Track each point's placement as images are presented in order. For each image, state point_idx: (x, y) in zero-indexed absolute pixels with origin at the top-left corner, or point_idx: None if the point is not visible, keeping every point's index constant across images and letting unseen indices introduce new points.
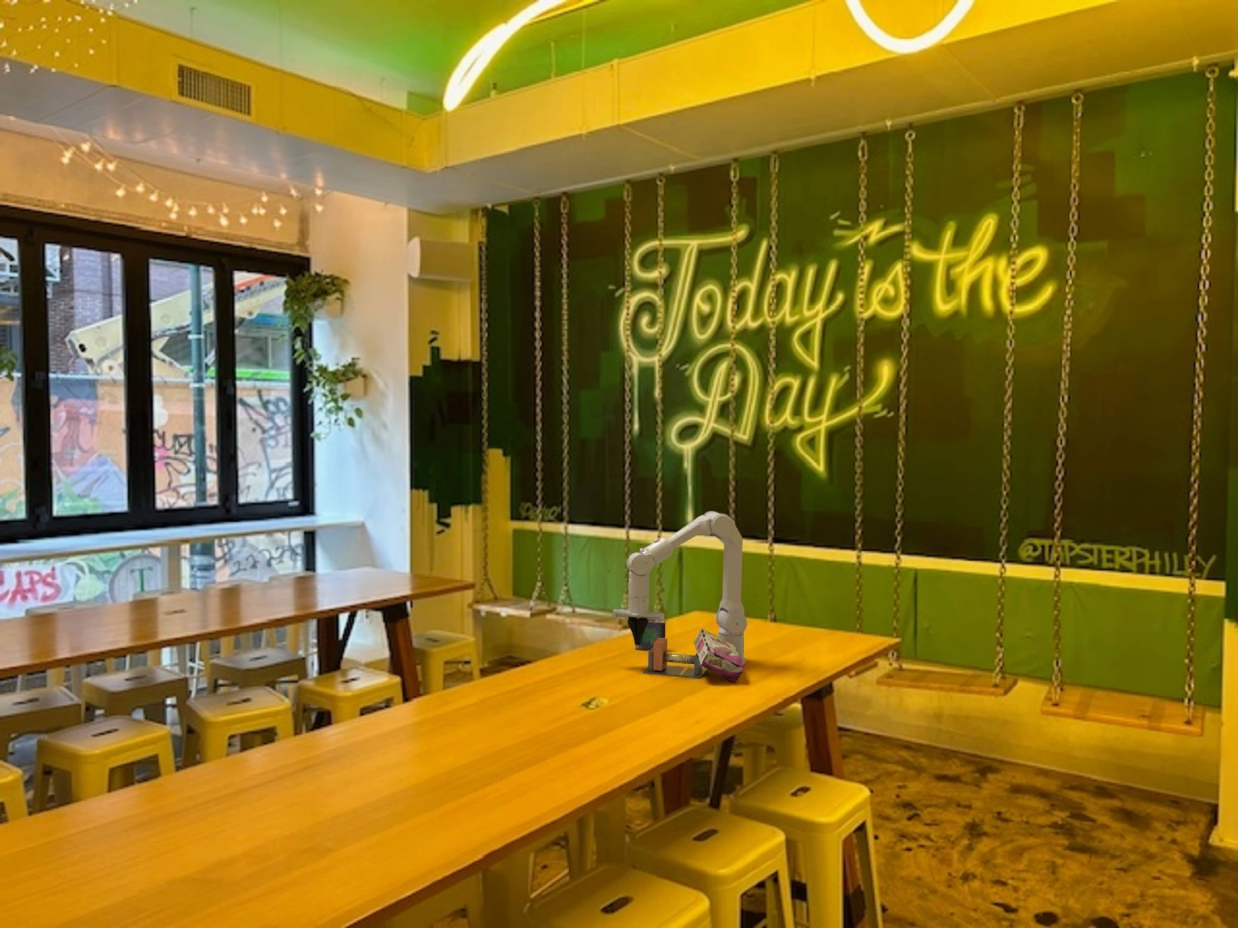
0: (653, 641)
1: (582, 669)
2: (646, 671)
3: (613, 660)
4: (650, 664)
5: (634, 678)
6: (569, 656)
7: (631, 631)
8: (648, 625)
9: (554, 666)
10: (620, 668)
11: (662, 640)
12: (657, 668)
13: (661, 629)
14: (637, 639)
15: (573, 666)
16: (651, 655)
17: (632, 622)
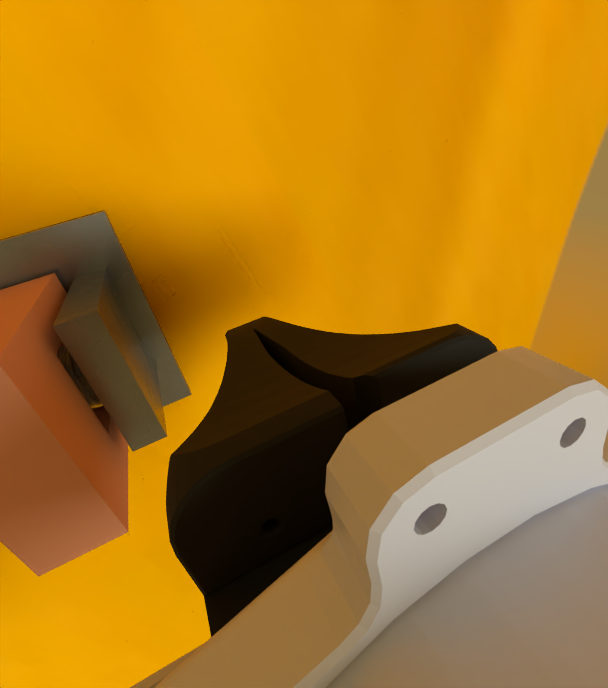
0: None
1: (450, 64)
2: (91, 235)
3: (386, 329)
4: (84, 285)
5: (39, 14)
6: (550, 257)
7: (346, 336)
8: None
9: (577, 40)
10: (290, 223)
11: (5, 498)
12: (16, 286)
13: None
14: (249, 336)
15: (504, 101)
16: (67, 310)
17: (395, 357)
